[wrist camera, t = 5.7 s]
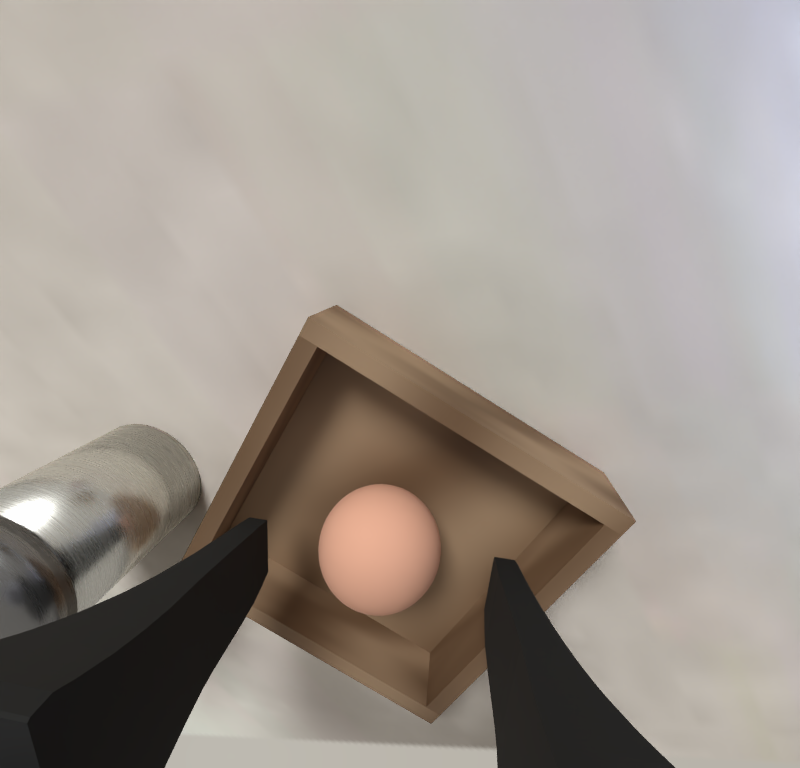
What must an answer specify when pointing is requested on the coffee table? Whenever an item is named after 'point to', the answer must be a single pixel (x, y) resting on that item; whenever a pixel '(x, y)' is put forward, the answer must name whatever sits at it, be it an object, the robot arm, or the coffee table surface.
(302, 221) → the coffee table surface
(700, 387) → the coffee table surface
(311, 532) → the tray
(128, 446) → the shaker
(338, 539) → the ball
